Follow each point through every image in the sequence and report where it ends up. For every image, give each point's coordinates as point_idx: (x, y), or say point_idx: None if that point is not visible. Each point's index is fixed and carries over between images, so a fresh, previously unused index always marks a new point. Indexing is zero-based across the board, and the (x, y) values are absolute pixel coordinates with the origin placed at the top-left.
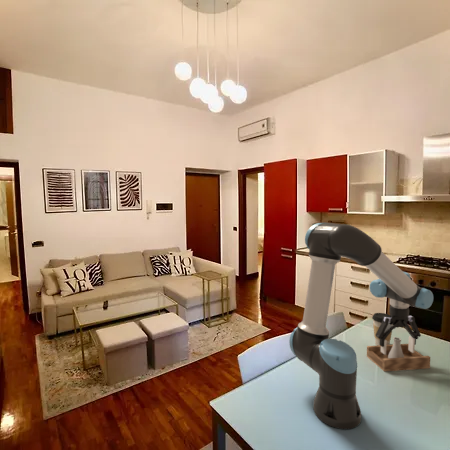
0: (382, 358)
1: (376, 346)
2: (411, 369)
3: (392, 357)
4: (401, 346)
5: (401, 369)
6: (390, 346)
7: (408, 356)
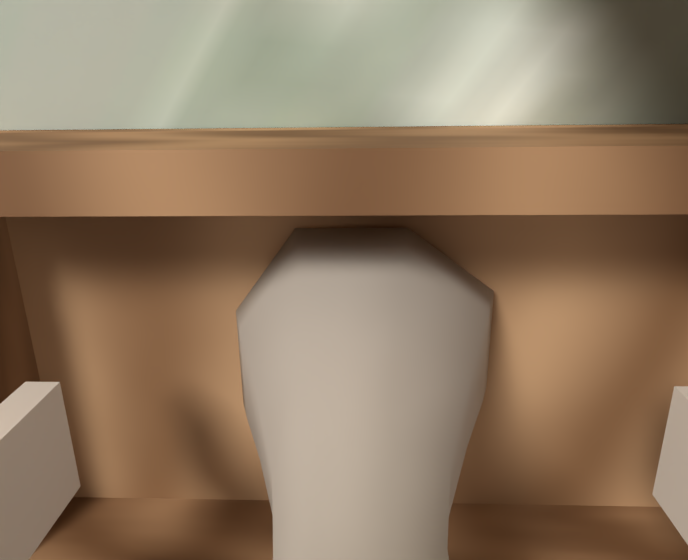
0: (161, 280)
1: (12, 196)
2: None
3: (248, 420)
4: (677, 208)
5: None
6: (379, 211)
7: (656, 271)
